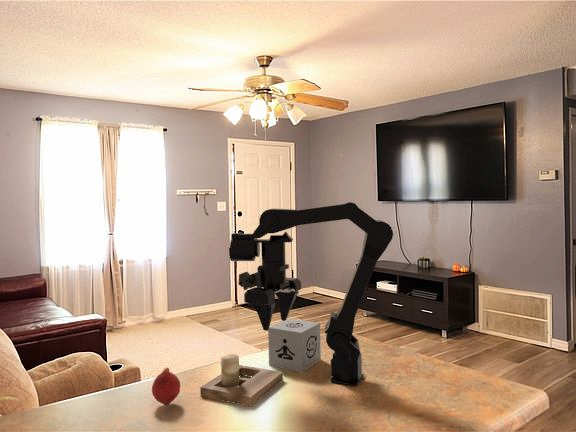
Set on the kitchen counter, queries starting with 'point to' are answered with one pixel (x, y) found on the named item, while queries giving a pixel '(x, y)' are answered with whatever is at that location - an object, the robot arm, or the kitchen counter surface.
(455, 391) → the kitchen counter surface
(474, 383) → the kitchen counter surface
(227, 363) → the peg
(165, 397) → the onion
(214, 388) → the board
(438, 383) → the kitchen counter surface
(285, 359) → the icon cube
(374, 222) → the robot arm
